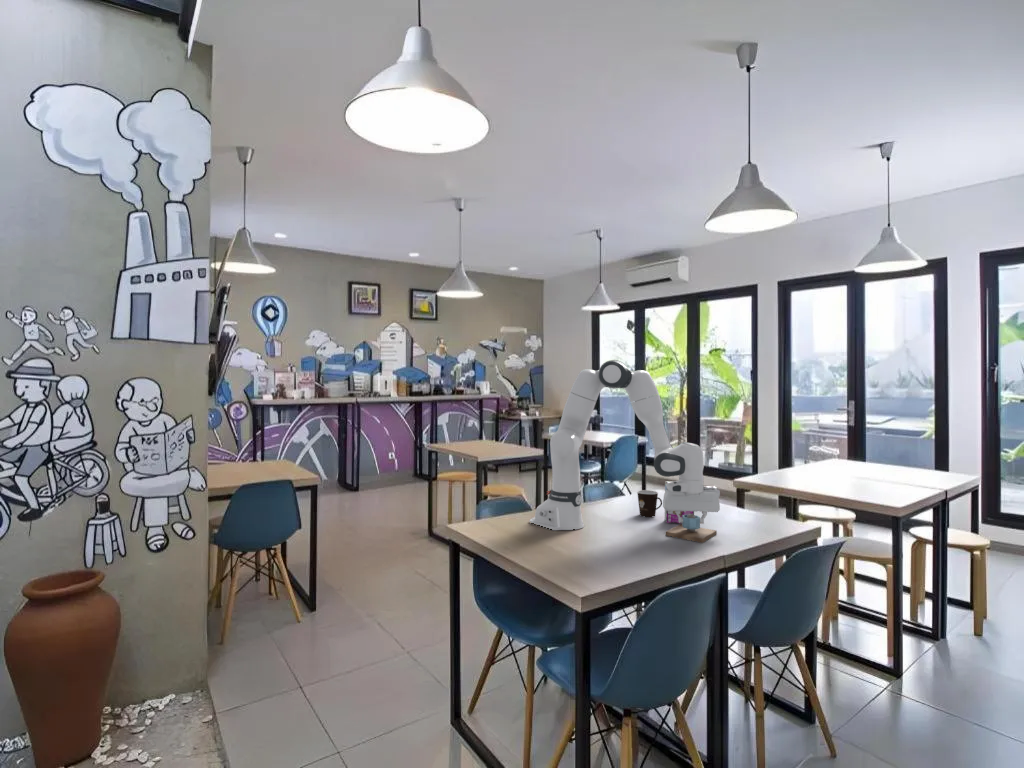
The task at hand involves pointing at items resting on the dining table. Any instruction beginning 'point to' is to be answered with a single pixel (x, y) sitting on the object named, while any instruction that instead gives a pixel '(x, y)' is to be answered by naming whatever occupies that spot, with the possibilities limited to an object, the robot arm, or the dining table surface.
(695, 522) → the blue faceted pot
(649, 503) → the coffee mug
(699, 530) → the shaft stand
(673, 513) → the candy bar box
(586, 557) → the dining table surface
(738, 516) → the dining table surface
